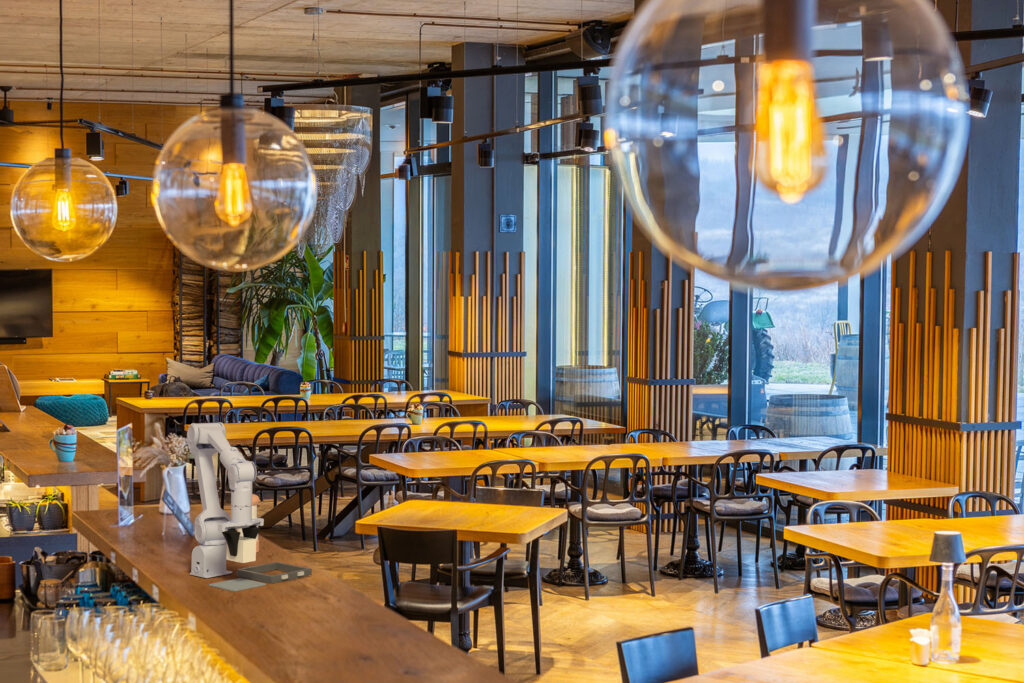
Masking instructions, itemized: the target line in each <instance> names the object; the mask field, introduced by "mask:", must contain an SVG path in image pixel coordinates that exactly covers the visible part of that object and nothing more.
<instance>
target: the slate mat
mask: <svg viewBox="0 0 1024 683" xmlns="http://www.w3.org/2000/svg"><path fill="white" fill-rule="evenodd" d="M266 585H267V583H265V582H261V581H256V580H251V579H247V578H242V577H238V578H234V579H228V580H222V581H219V582H217V581H216V582H214V583H208V586H209V587H212V588H218V589H222V590H226V591H231V592H238V591H243V590H248V589H254V588H259V587H264V586H266Z"/></svg>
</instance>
